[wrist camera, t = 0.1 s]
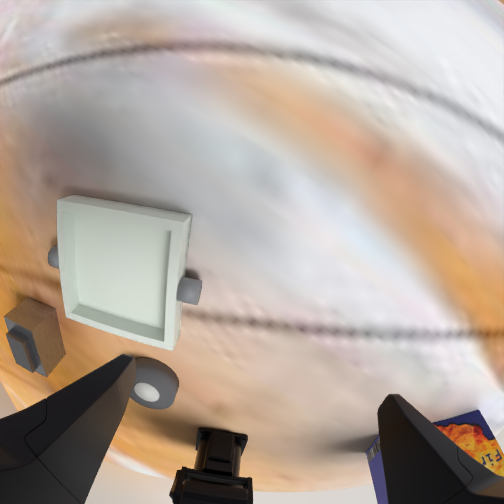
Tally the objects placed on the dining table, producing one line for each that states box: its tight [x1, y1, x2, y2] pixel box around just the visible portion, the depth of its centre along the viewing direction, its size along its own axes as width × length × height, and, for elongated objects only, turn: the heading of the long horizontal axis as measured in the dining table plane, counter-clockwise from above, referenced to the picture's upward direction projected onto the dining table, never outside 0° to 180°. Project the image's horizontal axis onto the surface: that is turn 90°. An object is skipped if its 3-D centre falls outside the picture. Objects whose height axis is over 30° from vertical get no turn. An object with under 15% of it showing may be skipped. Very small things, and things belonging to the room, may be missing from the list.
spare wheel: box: [130, 357, 179, 409], centre depth 27 cm, size 6×6×3 cm
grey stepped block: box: [4, 297, 66, 377], centre depth 24 cm, size 7×5×6 cm
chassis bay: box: [48, 195, 202, 351], centre depth 22 cm, size 12×15×2 cm
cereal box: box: [366, 410, 504, 504], centre depth 17 cm, size 22×6×30 cm, turn 85°
